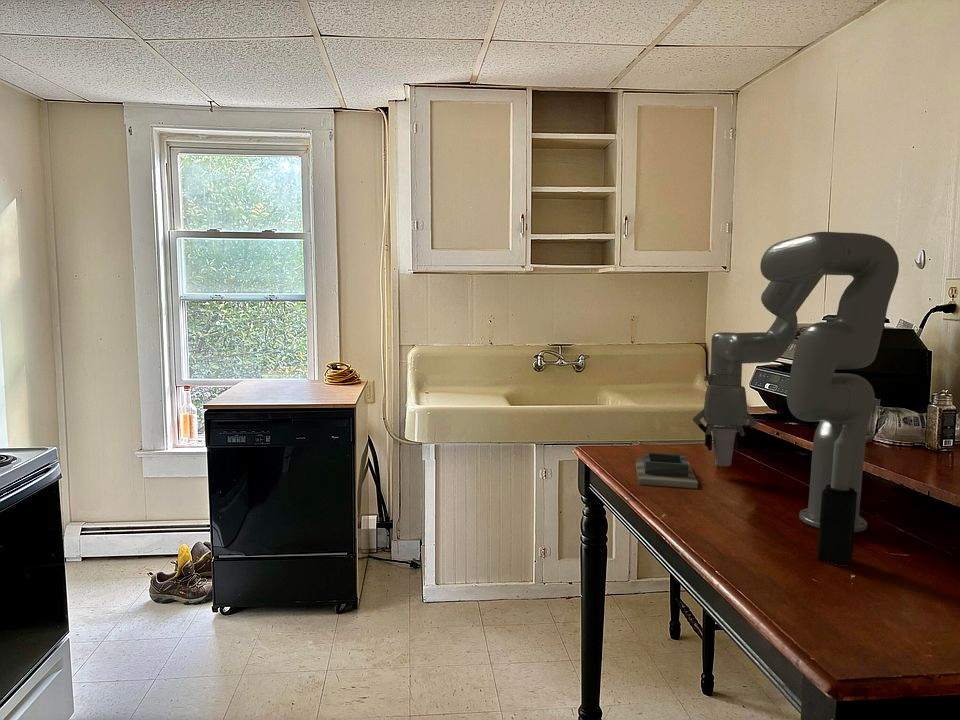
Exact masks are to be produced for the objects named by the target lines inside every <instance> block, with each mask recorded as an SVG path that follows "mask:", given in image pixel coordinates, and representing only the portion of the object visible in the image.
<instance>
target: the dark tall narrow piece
mask: <svg viewBox="0 0 960 720" xmlns="http://www.w3.org/2000/svg"><path fill="white" fill-rule="evenodd" d="M842 427H843V429H842V432H841V434H840V436H839V438H838V439H837V440H836V441H835V443H834V454H833V467H832V479H831V484H829V485H827V486H826V488H825V489H824V490H823V491H822V500H821V512H820V525H819V528H818V529H819V530H818V538H817V539H818V540H817V542H818V543H817V550H816V551H817V553H816V560H817V559H818V561H819V560H820V561H819V562H821V561H825V562H829V563H833V564H838V565H848V566H849V564H850V562H851V561H850V560H852V559H853V549H854V547H853V546H854V535H855V533H854V526H855V514H856V503H857V492H856V491H855V490H854V489H853V488H851V487H850V475H851V463H852V451H853V444H852V442H851V440H850V439H849V435H848V431H847V428H848V426H847V425H843V426H842ZM849 561H850V562H849ZM852 561H853V560H852ZM825 562H824V563H825Z"/></svg>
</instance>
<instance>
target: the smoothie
mask: <svg viewBox="0 0 960 720" xmlns="http://www.w3.org/2000/svg"><path fill="white" fill-rule="evenodd" d="M711 432H712V443H713V452H714V460H715V461H714V462H715V463H714V464H715V465H716V466H719V467H730V466H732V460H733V452H734V448H735V443H736V435H737V432H738V431H737V428H736V427H735V426H718V425H714V427H713V429H712V431H711Z"/></svg>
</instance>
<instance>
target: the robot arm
mask: <svg viewBox="0 0 960 720" xmlns="http://www.w3.org/2000/svg"><path fill="white" fill-rule="evenodd" d="M899 263H900V262H899V258H898V254H897V253H896V250H895V248H894V247H893V246H892V244H890V243H889V242H888V241H887V240H885V239H883V238H881V237H880V236H877V235H872V234H868V233H861V232H859V233H858V232H841V231H840V232H837V231H817V232H811V233H808V234H803V235H801V236H797V237H793V238H790V239H786V240H782V241H778V242H776V243H774V244H772V245H771V246H769V248H767V249H766V251H764V253H763V255H762V257H761V259H760V266H759V267H760V272H761V274H762V275H761V276H762V277H764V279H766V280H767V281H770V282H769V283H768V285H767V286H766V288H765V289H764V290H763V291H762V293H761V297H760V300H761V303H762V305H763V307H764V308H765V309H766V310H767V311H768V312H770V313H771V315H774V316H775V317H776V318H775V320H774V322H773V323H772V324H771V326H770V327H769V328H768V330H767V331H766V332H765V331H762V332H761V331H759V332H757V331H756V332H715V333H713V335H712V336H711V346H710V347H711V348H710V349H711V351H710V372H709V375H704V382H708V383H709V384H708V385H707V386H706V391H705V396H704V406H703V409H702V410H701V411H699V412H698V413H697V414H696V415H695V416H694V417H692V421H693V423H694V424H695V425H696V426H697V427H698V428H699V429H700V430H701V431H702V432H703V433H704V434H705V435H704V446H705V447H706V448H707V450H708V451H712V450H713V434H712V432H713V431H712V429H713V427H714V426H731V427H736V428H737V433H736V437H735V443H734V448H735V451H736V452H741V449H743V448H744V436H745V435H746V434H748V433H749V431H750V430H751V429H752V428H753V427H755V426H756V425H757V424H758V420H757V419H756V418H755V417H754V416H753V415H751V414H750V413H749V412H748V403H747V402H748V401H747V393H746V392H747V391H746V387H745V386H744V385H742V380H743V379H742V373H743V364H767V363H768V364H769V363H772V362H773V363H774V362H775V361H777V360H779V358H781V357H782V356H783V355H784V354H785V352H786V351H787V350H788V349H789V348H790V345H792V344H793V341H794V340H795V338H796V335H797V331H798V323H799V321H798V316H797V312H798V311H799V309H800V308H801V307H802V305H803V304H804V303H805V301H806V300H807V299H808V297H810V294H811V293H812V292H813V290H815V287H816V286H817V285H818V283H819V282H820V281H821V279H822V278H823V276H851V277H852V280H851V282H850V283H849V284H848V285H847V286H846V287H845V289H844V291H843V292H842V294H841V296H840V298H839V301H838V307H837V312H836V315H835V319H834V320H833V321H820V322H815V323H812V324H809V326H807V327H806V328H805V329H803V331H802V332H801V334H800V335H799V336H798V339H797V342H796V344H795V349H794V353H793V358H792V363H791V367H790V374H789V376H788V377H789V378H788V383H787V390H786V404H787V408H788V409H789V412H790V413H791V414H792V416H794V418H796V419H798V420H800V421H803V422H810V423H811V422H812V423H814V422H819V423H818V425H817V427H816V428H815V432H814V436H813V442H812V453H811V467H810V477H809V479H810V480H809V493H808V505H807V507H806V508H804V509H801V510H800V511H799V515H798V516H799V520H801V521H802V522H803V523H805V524H807V525H809V526H811V527H814V528H817V529H819V525H820V512H821V500H822V491H823V490H824V489H825V488H826V486H827V485H829V484H831V479H832V467H833V454H834V443H835V441H836V440H837V439H838V438H839V436H840V434H841V432H842V429H843V427H842V426H843V425H847V426H848V428H847V431H848V435H849V439H850V440H851V442H852V444H853V451H852V463H851V475H850V487H851V488H853V489H854V490H855V491H856V492H857V503H856V514H855V526H854V534H855V533H861V532H863V531H865V530H867V527H868V522H867V521H866V519H864V518H863V517H862V516H860V508H861V507H860V506H861V497H862V496H861V495H862V483H863V474H864V473H863V472H864V471H863V470H864V464H865V463H864V461H865V453H866V445H867V443H866V442H867V435H868V429H869V424H870V420H871V417H872V414H873V411H874V408H875V402H876V394H875V390H874V387H873V386H872V384H871V383H870V382H869V381H868V380H867V379H866V378H865V377H863V376H860V375H859V374H855V373H847V372H846V373H843V372H840V373H839V372H838V373H836V372H835V371H836V370H852V369H862V368H867V367H868V366H870V365H872V364H873V362H875V360H876V357H877V354H878V352H879V351H878V350H879V347H880V342H881V339H882V334H883V330H884V326H885V321H886V319H887V318H886V317H887V313H888V308H889V303H890V301H891V297H892V294H893V291H894V289H895V287H896V283H897V280H898V275H899V271H900V268H899V267H900V265H899ZM702 418H703V420H704V422H705V423H706V425H705V424H704V423H702V422H701V419H702Z"/></svg>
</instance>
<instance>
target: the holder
mask: <svg viewBox="0 0 960 720" xmlns="http://www.w3.org/2000/svg"><path fill="white" fill-rule="evenodd" d="M635 469H636V470H635V471H636V476H637V483H638V485H643V486H654V487H655V486H656V487H671V488H683V489H684V488H685V489H696V490H697V489H698V488H699V487H698V486H699V482H698V479H697V478H696V475H695V473H694V471H693V469H692V467H691V464H690V462H689V461H687V459H686V456H685V454H678V453H677V454H676V453H664V452H663V453H661V452H648V451H647V452H645V451H644V452H643V458H640V457H639V458H635Z"/></svg>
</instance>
